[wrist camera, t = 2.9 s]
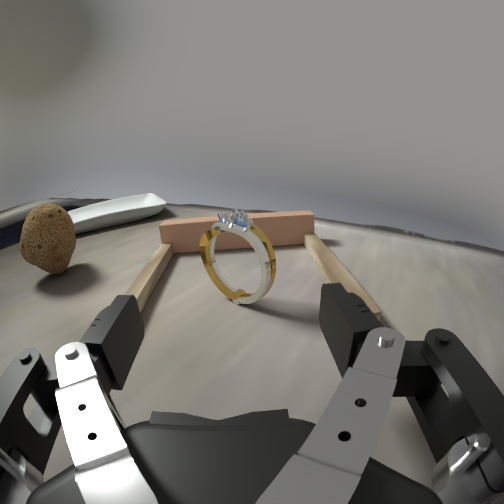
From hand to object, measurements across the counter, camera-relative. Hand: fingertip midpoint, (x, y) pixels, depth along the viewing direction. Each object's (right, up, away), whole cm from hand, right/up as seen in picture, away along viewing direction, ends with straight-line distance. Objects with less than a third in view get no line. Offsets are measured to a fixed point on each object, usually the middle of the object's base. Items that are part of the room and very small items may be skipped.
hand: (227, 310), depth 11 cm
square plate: (-35, +10, +53) cm, 65 cm away
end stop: (-1, +3, +27) cm, 27 cm away
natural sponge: (-27, -1, +20) cm, 33 cm away
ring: (0, -2, +13) cm, 13 cm away
